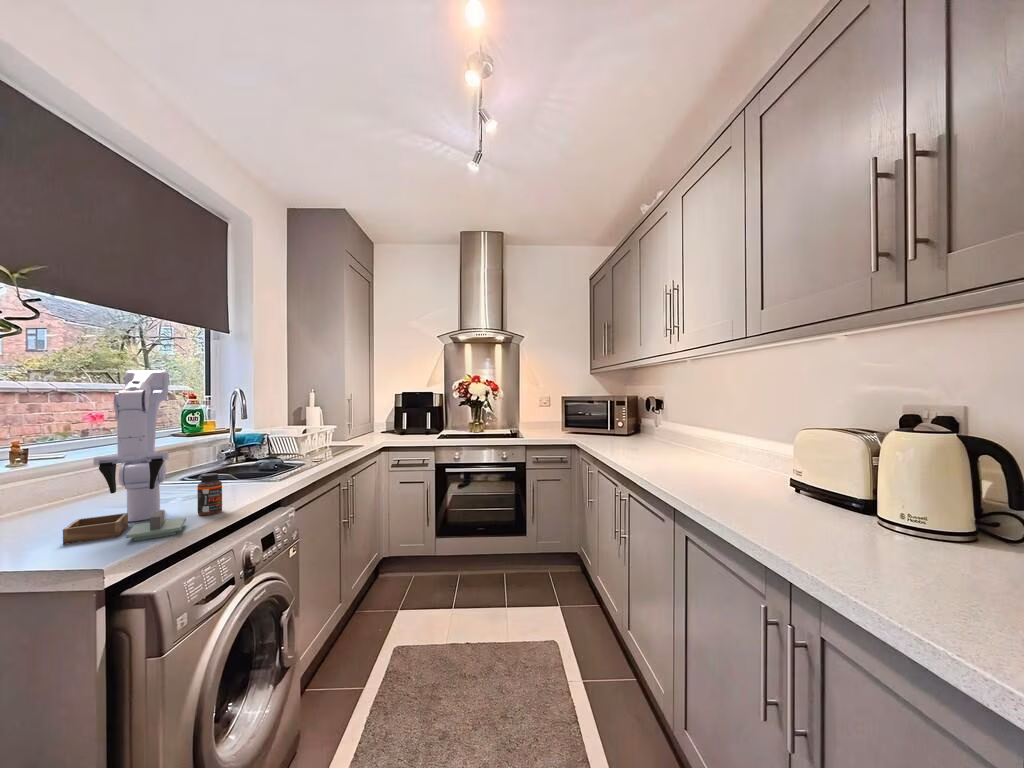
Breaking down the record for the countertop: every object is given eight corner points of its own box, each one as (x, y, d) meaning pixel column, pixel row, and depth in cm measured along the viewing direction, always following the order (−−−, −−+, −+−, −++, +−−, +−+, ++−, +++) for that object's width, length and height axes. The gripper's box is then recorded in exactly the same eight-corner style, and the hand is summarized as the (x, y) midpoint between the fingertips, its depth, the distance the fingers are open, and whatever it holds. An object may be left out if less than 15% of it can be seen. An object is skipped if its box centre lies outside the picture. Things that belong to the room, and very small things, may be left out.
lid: (135, 531, 113) (134, 512, 113) (185, 524, 119) (185, 506, 119) (125, 543, 105) (125, 522, 105) (180, 535, 110) (180, 515, 110)
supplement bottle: (209, 516, 126) (209, 476, 126) (192, 515, 127) (191, 476, 127) (227, 510, 132) (226, 472, 132) (210, 510, 133) (209, 472, 133)
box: (77, 533, 114) (76, 519, 114) (128, 526, 119) (127, 512, 119) (62, 544, 105) (62, 529, 105) (118, 536, 110) (118, 522, 110)
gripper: (89, 440, 107) (90, 497, 107) (165, 436, 115) (166, 489, 114) (97, 438, 113) (98, 492, 113) (169, 434, 121) (170, 484, 120)
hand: (132, 490), depth 114 cm, fingers open, 7 cm apart
